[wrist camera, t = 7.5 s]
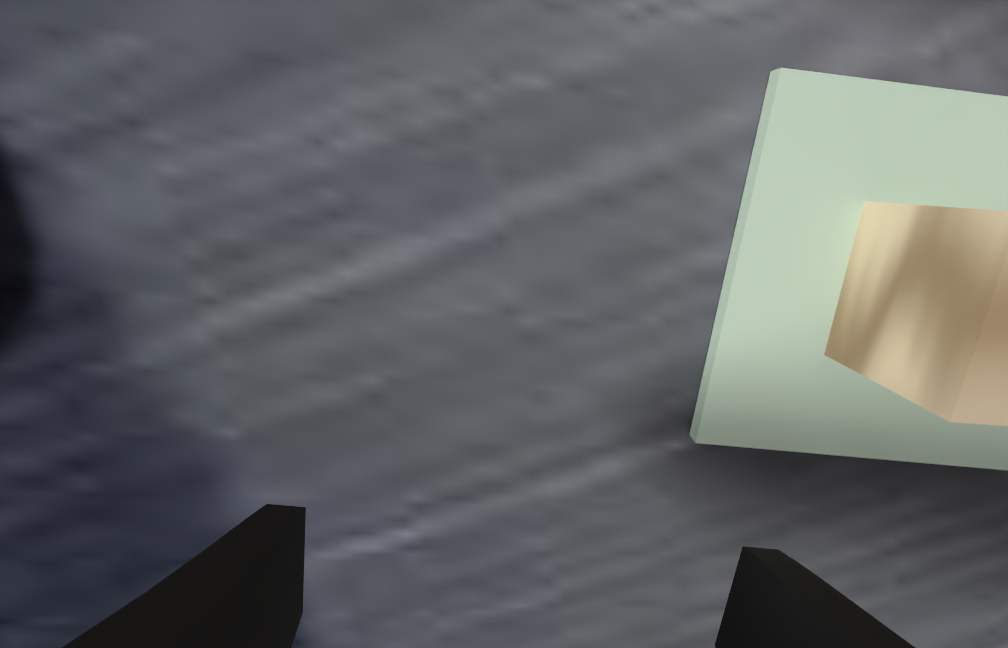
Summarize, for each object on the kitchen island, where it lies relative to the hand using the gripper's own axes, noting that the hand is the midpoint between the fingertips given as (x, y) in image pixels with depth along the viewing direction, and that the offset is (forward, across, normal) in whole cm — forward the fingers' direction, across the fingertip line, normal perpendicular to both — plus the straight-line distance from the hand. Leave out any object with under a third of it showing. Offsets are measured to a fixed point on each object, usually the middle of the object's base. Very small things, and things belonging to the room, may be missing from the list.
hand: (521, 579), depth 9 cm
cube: (+9, -13, -5) cm, 16 cm away
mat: (+10, -13, -4) cm, 17 cm away
